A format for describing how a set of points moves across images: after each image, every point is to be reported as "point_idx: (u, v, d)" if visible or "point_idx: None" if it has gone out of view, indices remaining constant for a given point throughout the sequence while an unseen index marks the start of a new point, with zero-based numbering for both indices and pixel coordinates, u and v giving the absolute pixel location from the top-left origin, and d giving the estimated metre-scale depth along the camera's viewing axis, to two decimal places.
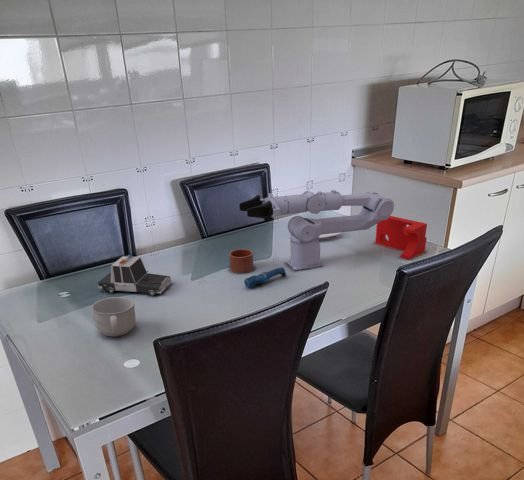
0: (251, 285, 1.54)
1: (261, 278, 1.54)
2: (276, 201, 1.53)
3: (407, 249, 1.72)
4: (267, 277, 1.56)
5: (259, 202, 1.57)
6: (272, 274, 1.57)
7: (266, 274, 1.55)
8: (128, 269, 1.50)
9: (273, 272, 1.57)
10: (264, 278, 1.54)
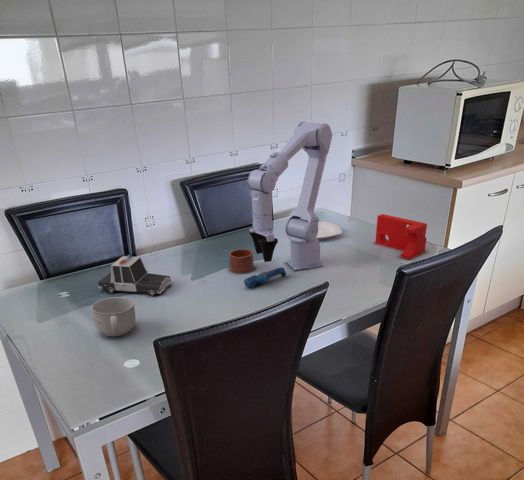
0: (251, 285, 1.54)
1: (261, 278, 1.54)
2: (258, 227, 1.46)
3: (407, 249, 1.72)
4: (267, 277, 1.56)
5: (256, 233, 1.53)
6: (272, 274, 1.57)
7: (266, 274, 1.55)
8: (128, 269, 1.50)
9: (273, 272, 1.57)
10: (264, 278, 1.54)
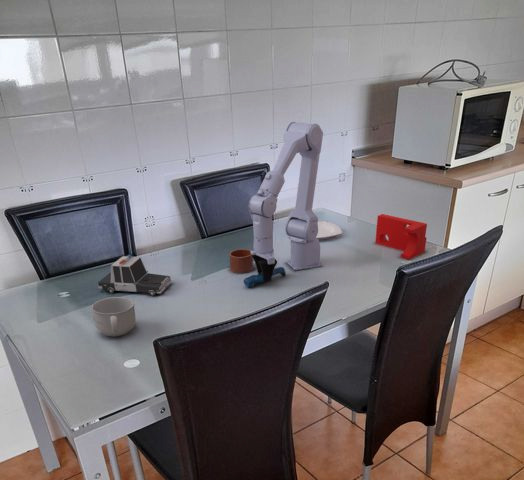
0: (250, 284, 1.54)
1: (260, 277, 1.54)
2: (259, 250, 1.50)
3: (407, 249, 1.72)
4: None
5: (258, 256, 1.56)
6: (272, 274, 1.57)
7: None
8: (128, 269, 1.50)
9: (273, 272, 1.58)
10: None
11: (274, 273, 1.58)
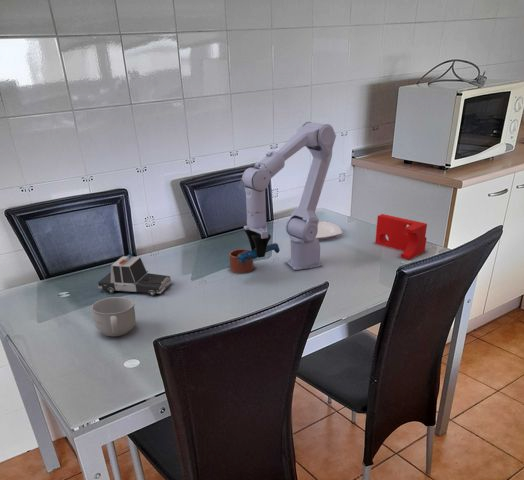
0: (244, 260, 1.53)
1: (254, 253, 1.53)
2: (252, 225, 1.49)
3: (407, 249, 1.72)
4: None
5: (252, 231, 1.55)
6: None
7: None
8: (128, 269, 1.50)
9: (266, 248, 1.56)
10: None
11: (268, 249, 1.57)
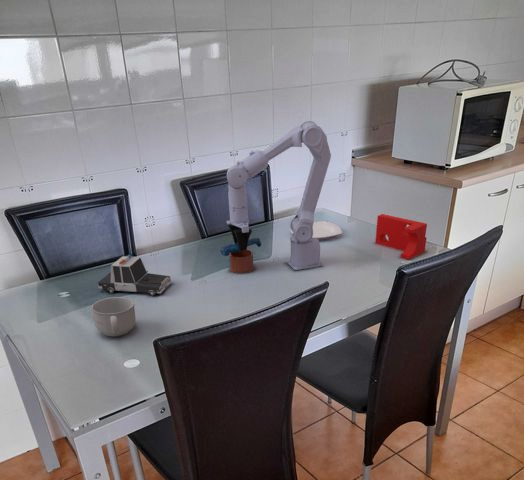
0: (227, 253, 1.61)
1: (236, 247, 1.61)
2: (234, 220, 1.57)
3: (407, 249, 1.72)
4: None
5: (235, 226, 1.63)
6: None
7: None
8: (128, 269, 1.50)
9: (248, 242, 1.65)
10: None
11: (250, 243, 1.65)
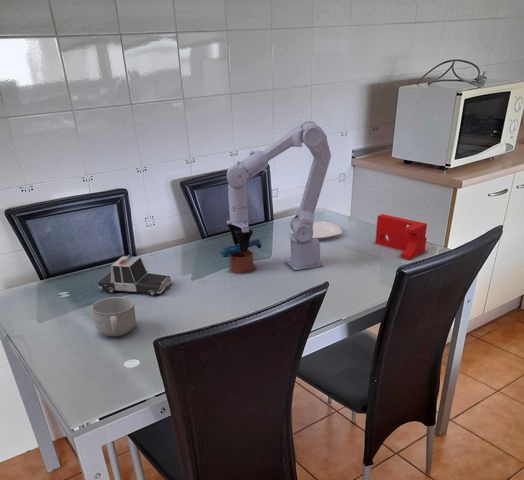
0: (227, 255, 1.61)
1: (236, 248, 1.61)
2: (234, 219, 1.57)
3: (407, 249, 1.72)
4: None
5: (234, 225, 1.64)
6: None
7: None
8: (128, 269, 1.50)
9: None
10: (239, 248, 1.62)
11: (250, 245, 1.65)
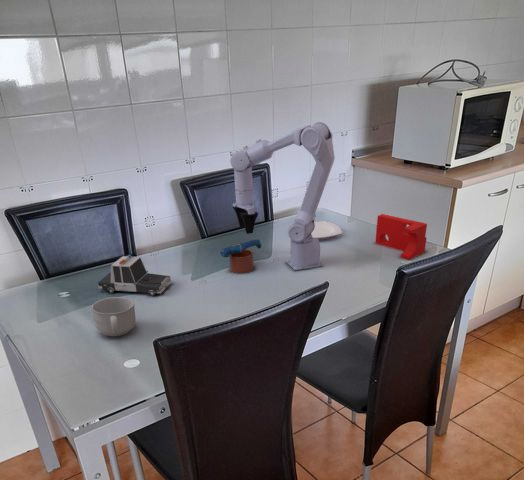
0: (227, 255, 1.61)
1: (236, 248, 1.61)
2: (240, 202, 1.63)
3: (407, 249, 1.72)
4: (242, 248, 1.63)
5: (239, 208, 1.70)
6: (247, 245, 1.65)
7: (241, 245, 1.63)
8: (128, 269, 1.50)
9: (248, 243, 1.65)
10: (239, 248, 1.62)
11: (250, 245, 1.65)
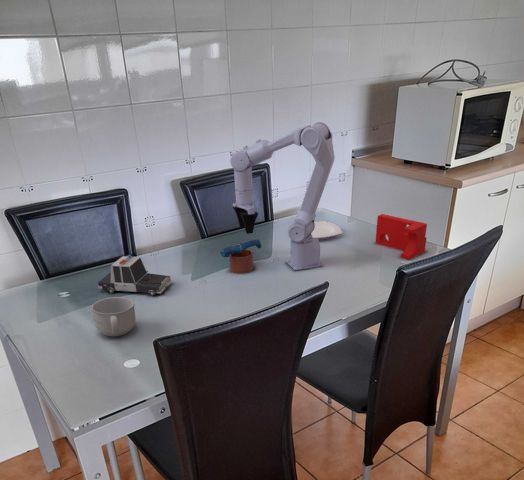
0: (227, 255, 1.61)
1: (236, 248, 1.61)
2: (240, 202, 1.63)
3: (407, 249, 1.72)
4: (242, 248, 1.63)
5: (239, 208, 1.70)
6: (247, 245, 1.65)
7: (241, 245, 1.63)
8: (128, 269, 1.50)
9: (248, 243, 1.65)
10: (239, 248, 1.62)
11: (250, 245, 1.65)
